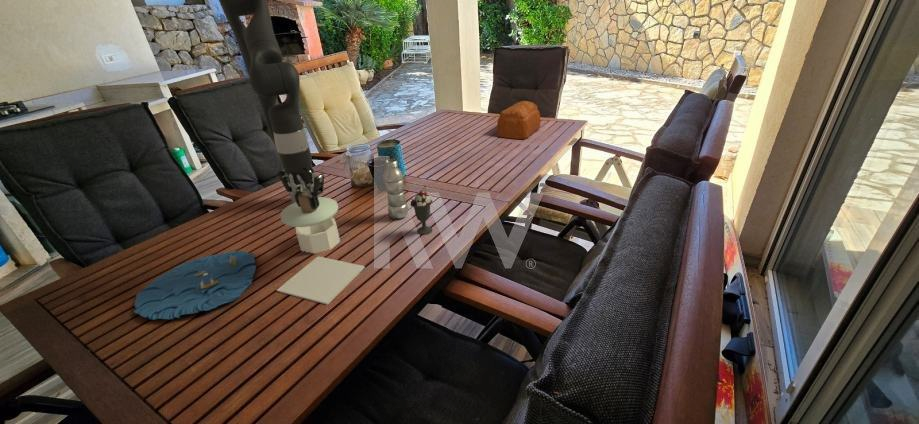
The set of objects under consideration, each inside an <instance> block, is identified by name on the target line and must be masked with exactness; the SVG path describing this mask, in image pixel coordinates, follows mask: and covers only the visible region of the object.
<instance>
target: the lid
mask: <svg viewBox="0 0 919 424" xmlns="http://www.w3.org/2000/svg"><path fill="white" fill-rule="evenodd" d="M298 199H299V203H300V206H301V207H298V205H297V203H296V202H295V203H293V204H292V203H290V204H289V205H287V206H286V207H285V208H283V210H282V211H281V212H280V220H281V222H282V223H283V225H286V226H288V227H291V228H292V227H293V228H296V227H308V226H313V225H317V224H320V223H323V222H325V221H327V220H329V219H331V218H334V216H336V214H338V212H339V205H338V202H337V201H336V200H335V199H332V198H330V197H324V196H319V197H318V200H319V207H318V208H316V209H315V210H314V209H311V205H310V201H309V196H308V194H307V192H304V193H301V194H299V195H298Z"/></svg>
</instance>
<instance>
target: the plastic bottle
mask: <svg viewBox="0 0 919 424" xmlns="http://www.w3.org/2000/svg"><path fill="white" fill-rule="evenodd" d="M384 163H385V165H384V166H385V168H386V169H385V170H384V171H383V174H382V180H383V183H384V186H385V190H386V194H387V212H388V214H389V217H391V218H393V219H395V220H396V219H403V218H405V217H406V216H407V215H408V213H409V207H408V204H407V202H406V197H405V192H404V189H405V188H404V175H403V172H402V171H401V169H400V168H399V167H398V166H399V164H398V160H397V159H395V158H390V159H386V160H385V161H384Z"/></svg>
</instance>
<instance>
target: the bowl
mask: <svg viewBox="0 0 919 424" xmlns="http://www.w3.org/2000/svg"><path fill="white" fill-rule="evenodd" d="M295 231H296V232H295V233H296V237H297V240H298V245H299V247H300V251H301V252H304V251H305V253H309V252H310V253H309V254H318V253H321V252H326V251H329V250H332V249H333V248H334V247H335V246H337V245H338V244H339V243H341V239H340V234H339V231H338V226H337V222H336V219H335V218H334V217H332V218H331V219H329V220H327V221H325V222H323V223H320V224H317V225H313V226H308V227H295Z"/></svg>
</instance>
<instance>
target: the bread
mask: <svg viewBox="0 0 919 424" xmlns="http://www.w3.org/2000/svg"><path fill="white" fill-rule="evenodd" d="M540 128H541V113H540V111H539V110H538V105H537V104H535V103H534V102H531V101H529V100H521V101H518V102H516V103H514V104H512V105H511V106H509V107H507V108H505V109H504V110H502V111H501V112H500V113H499V117H498V119H497V125H496V133H497V136H498V137H499V138H505V139H514V140H525V139H527V138H529V137H530V136H532V135H533V134H534V133H535V132H537V131H538V130H539V129H540Z"/></svg>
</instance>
